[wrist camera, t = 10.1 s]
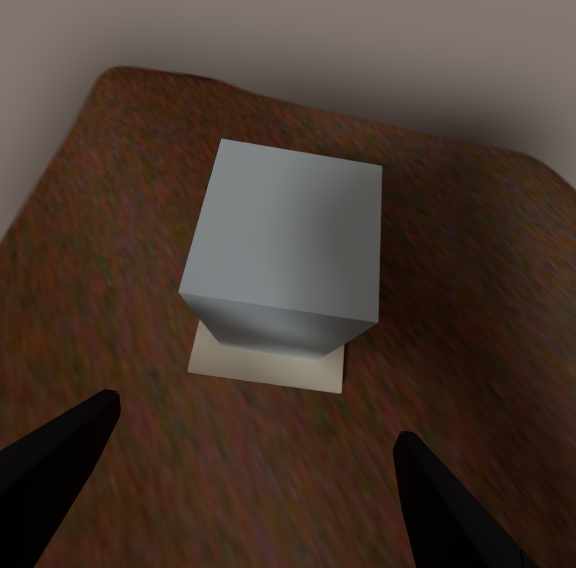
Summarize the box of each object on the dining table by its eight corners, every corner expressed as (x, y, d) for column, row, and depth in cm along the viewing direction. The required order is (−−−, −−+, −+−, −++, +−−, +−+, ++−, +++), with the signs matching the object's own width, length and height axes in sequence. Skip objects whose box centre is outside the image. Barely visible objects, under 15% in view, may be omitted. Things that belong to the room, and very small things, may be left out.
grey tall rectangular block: (317, 360, 18) (378, 322, 9) (221, 346, 18) (178, 292, 9) (326, 272, 20) (382, 166, 11) (240, 259, 20) (221, 138, 11)
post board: (337, 393, 18) (359, 392, 14) (191, 372, 18) (169, 365, 14) (346, 261, 22) (366, 229, 17) (222, 242, 21) (212, 204, 17)
